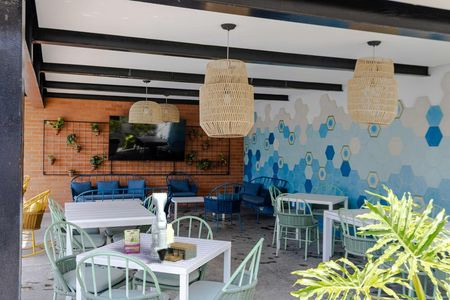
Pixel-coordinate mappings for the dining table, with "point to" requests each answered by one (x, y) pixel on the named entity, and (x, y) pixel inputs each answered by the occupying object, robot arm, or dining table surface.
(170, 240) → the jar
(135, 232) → the candy bar box
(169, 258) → the tray
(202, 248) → the dining table surface
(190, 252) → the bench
